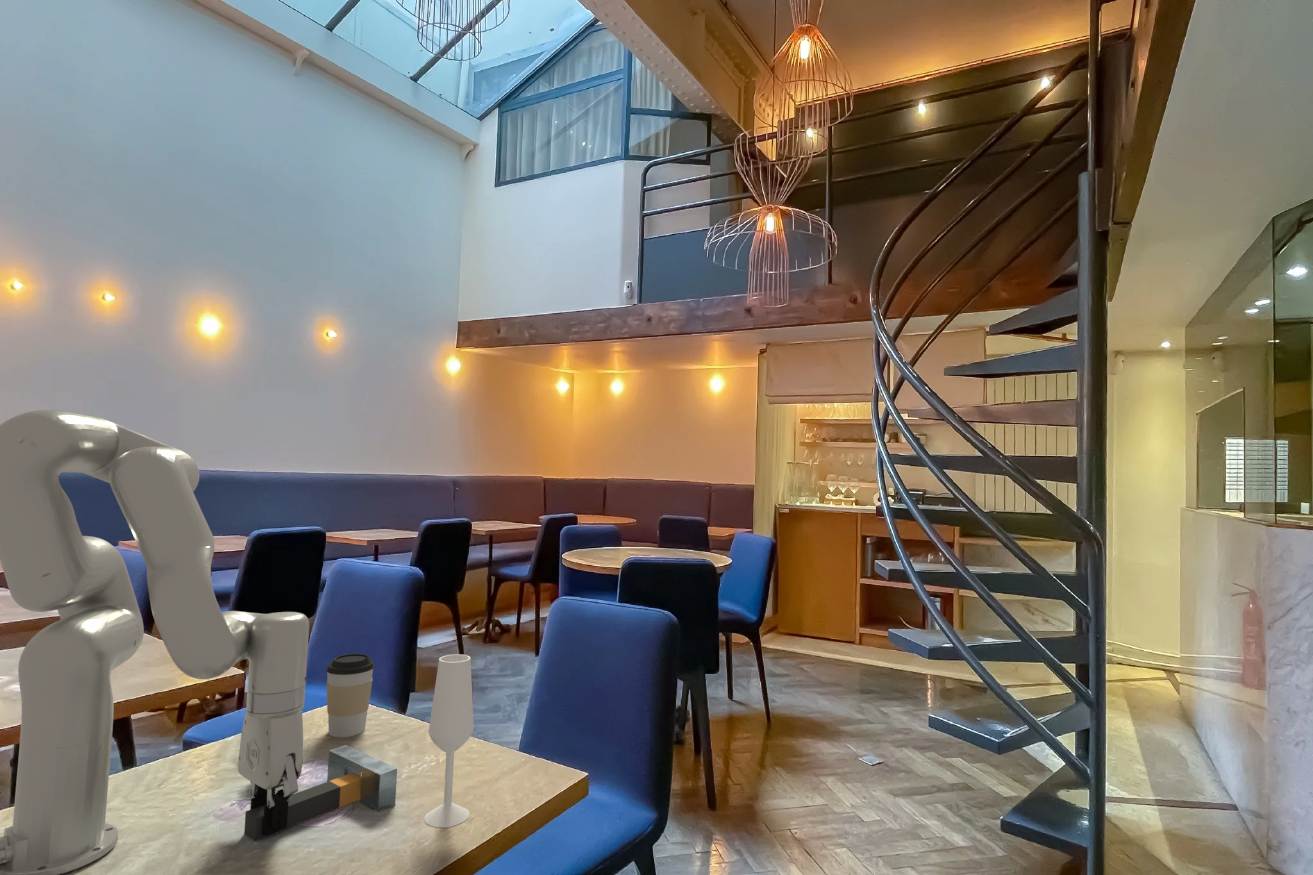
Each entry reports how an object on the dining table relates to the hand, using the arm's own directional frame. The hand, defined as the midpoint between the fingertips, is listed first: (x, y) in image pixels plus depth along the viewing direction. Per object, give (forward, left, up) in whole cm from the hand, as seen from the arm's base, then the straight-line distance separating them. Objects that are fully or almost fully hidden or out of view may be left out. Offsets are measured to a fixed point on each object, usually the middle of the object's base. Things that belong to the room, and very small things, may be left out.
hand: (268, 825), depth 98 cm
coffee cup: (+28, +27, -1) cm, 39 cm away
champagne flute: (+19, -17, -1) cm, 25 cm away
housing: (+14, 0, -1) cm, 15 cm away
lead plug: (+6, 0, -1) cm, 6 cm away
